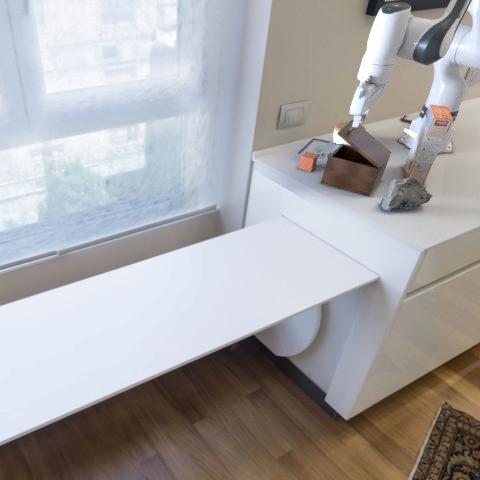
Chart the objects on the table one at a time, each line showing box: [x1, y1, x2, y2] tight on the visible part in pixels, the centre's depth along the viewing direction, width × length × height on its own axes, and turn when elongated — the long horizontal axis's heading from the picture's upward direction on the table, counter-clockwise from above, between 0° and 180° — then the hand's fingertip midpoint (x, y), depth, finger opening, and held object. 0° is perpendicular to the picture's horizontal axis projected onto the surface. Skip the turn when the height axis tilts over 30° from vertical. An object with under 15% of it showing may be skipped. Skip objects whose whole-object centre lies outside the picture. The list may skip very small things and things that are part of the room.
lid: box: [337, 115, 393, 169], centre depth 135 cm, size 17×14×5 cm
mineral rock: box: [380, 176, 433, 212], centre depth 129 cm, size 13×11×10 cm
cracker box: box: [403, 104, 454, 185], centre depth 143 cm, size 14×6×21 cm, turn 160°
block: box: [298, 151, 319, 173], centre depth 151 cm, size 4×4×4 cm
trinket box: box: [332, 121, 366, 146], centre depth 164 cm, size 11×11×9 cm
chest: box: [320, 144, 391, 197], centre depth 142 cm, size 16×14×9 cm
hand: (358, 123), depth 134 cm, fingers closed on lid, 5 cm apart
